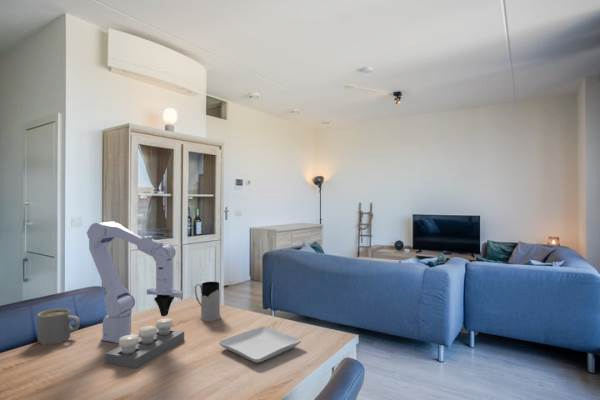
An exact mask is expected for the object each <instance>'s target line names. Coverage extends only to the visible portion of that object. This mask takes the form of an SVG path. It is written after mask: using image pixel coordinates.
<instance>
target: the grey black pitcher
mask: <svg viewBox="0 0 600 400" xmlns="http://www.w3.org/2000/svg"><path fill="white" fill-rule="evenodd" d="M197 286H199V287H200V293H201V296H200V297H201V302H200V300H199V298H198V293H197ZM194 294H195V299H196V301H197V302H198V304H199V306H200V307H201V308H200V309H201V310H200V313H201V315H200V318H199V320H200V321H204V322H214V321H218V320H220V319H221V317H222V316H221V313H220V312H221V311H220V309H221V308H220V307H221V306H220V305H221V304H220V303H221V302H220V300H221V299H220V298H221V295H220V282H219V281H205V282H202V283H201V284H200V283H197V284H196V285H195V286H194Z"/></svg>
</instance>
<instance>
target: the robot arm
mask: <svg viewBox="0 0 600 400" xmlns="http://www.w3.org/2000/svg"><path fill="white" fill-rule="evenodd" d="M86 234H87V238H88V243H89V245H88V249H89V252H90V254H91V257H92V259H93V263H94V264H95V267H96V269H97V272H98V274H99V277H100V280H101V282H102V285H103V287H104V289H105V291H106V294H105V296H104V298H103V302H104V309H105V313H106V315H105V316H104V317H103V320H102V338H100V340H101V341H105V342H110V343H116V344H119V339H120V338H121V337H123V336H126V335H137V334H136V333H132V312H133V311H132V310H133V308H134V307H135V305H136V299H135V297H134V296H133V294H131V293H130V290H129V289H128V288H126V287H124V286H123V285H122V283H121V282H122V281H121V279H120V276H119V274H118V272H117V270H116V267H115V264H114V262H113V260H112V257H111V254H110V253H109V250H108V247H109V245H110V244H111V242H112V241H113V240H114V239H115V238H119V239H121V240H124V241H126V242H129V243H130V244H133V245H135V246H136V248H137V250H138V251H140V252H142V253H144V254H146V255H147V256H151V257H152V258H153V260H154V262H155V282H156V283H155V287H149V288H146V295H147V296H148V295H153V296H154V295H155V296H156V297H154V302H155V303H156V305H157V307H158V309H159V312H160V316H161V317H167V316H168V315H169V311H170V307H171V305H172V303H173V300H174V299H175V298H177V299H181V298H183V297H184V291H180V290H176V289H174V286H173V285H174V274H173V273H174V270H173V269H174V258H175V257H176V249H175V248H174V246H173V245H171V244H170V243H169V244H168V243H167V244H164V242H163V241H158V240H156V239H154V237H153V236H151V235H149V236H148V235H144V236H141V235H139V234H137V233H135V232H133V231H131V230H130V229H128V228H127V227H125V226H123V225H122V224H121V223H118V222H115V220H114V221H113V220H110V221H105V222H94V223H92V224H90V225H89V227H88V229H87V231H86Z"/></svg>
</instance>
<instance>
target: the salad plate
mask: <svg viewBox="0 0 600 400" xmlns="http://www.w3.org/2000/svg"><path fill="white" fill-rule="evenodd" d="M301 342H302V339H301V338H297V337H295V336H292V335H289V334H287V333H284V332H281V331H279V330H275V329H272V328H270V327H266V326H259V327H257V328H253V329H249V330H246V331H244V332H241V333H239V334H235V335H232V336H229V337H227V338H224V339H222V340H221V339H220V340H219V341H218V344H219V345H220V346H221V347H223V348H224V349H226V350H228V351H229V352H233V353H235V354H237V355H239V356H241V357H243V358H246V359H247V360H249V361H251V362H253V363H262V362H264V361H267V360H269V359H271V358H274V357H276V356H278V355H280V354H283V353H284V351H285V352H286V351H288V350H291V349H293V348H295V347H297V346H299V345H300V343H301ZM282 352H283V353H282Z"/></svg>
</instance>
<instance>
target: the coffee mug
mask: <svg viewBox="0 0 600 400" xmlns="http://www.w3.org/2000/svg"><path fill="white" fill-rule="evenodd" d="M72 320H73V321H74V323H75V325H74V327H72V325H71V322H72ZM80 324H81V321H80V318H79V317H78V315H77V316H76V315H71V309H69V308H65V307H62V308H61V307H59V308H58V307H57V308H52V309H47V310H43V311H40V312H38V314H37V343H38V344H39V343H41V344H40V345H43V344H46V345H54V343H55V344H59V343H62V342H64V341H67V340H69V339H70V338H71V334H72V333H75V332H76V331H78V329H79V328H80Z"/></svg>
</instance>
